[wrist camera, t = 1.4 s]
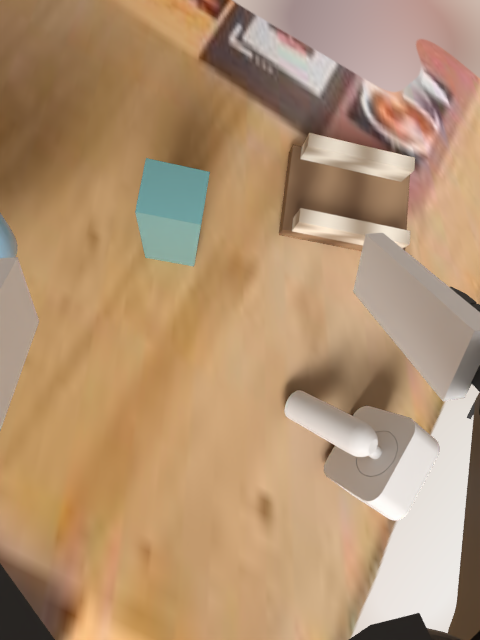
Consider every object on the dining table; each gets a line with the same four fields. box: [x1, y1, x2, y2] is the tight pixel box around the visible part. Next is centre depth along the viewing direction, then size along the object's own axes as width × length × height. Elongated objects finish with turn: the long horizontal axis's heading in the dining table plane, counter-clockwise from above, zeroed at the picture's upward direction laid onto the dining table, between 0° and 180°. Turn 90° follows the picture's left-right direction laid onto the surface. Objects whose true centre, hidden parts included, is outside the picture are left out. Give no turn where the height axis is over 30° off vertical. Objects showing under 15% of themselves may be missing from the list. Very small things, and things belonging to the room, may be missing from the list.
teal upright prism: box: [135, 158, 210, 266], centre depth 36 cm, size 5×4×11 cm
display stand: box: [279, 133, 415, 251], centre depth 43 cm, size 14×10×4 cm
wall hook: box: [285, 390, 440, 520], centre depth 37 cm, size 8×10×10 cm
